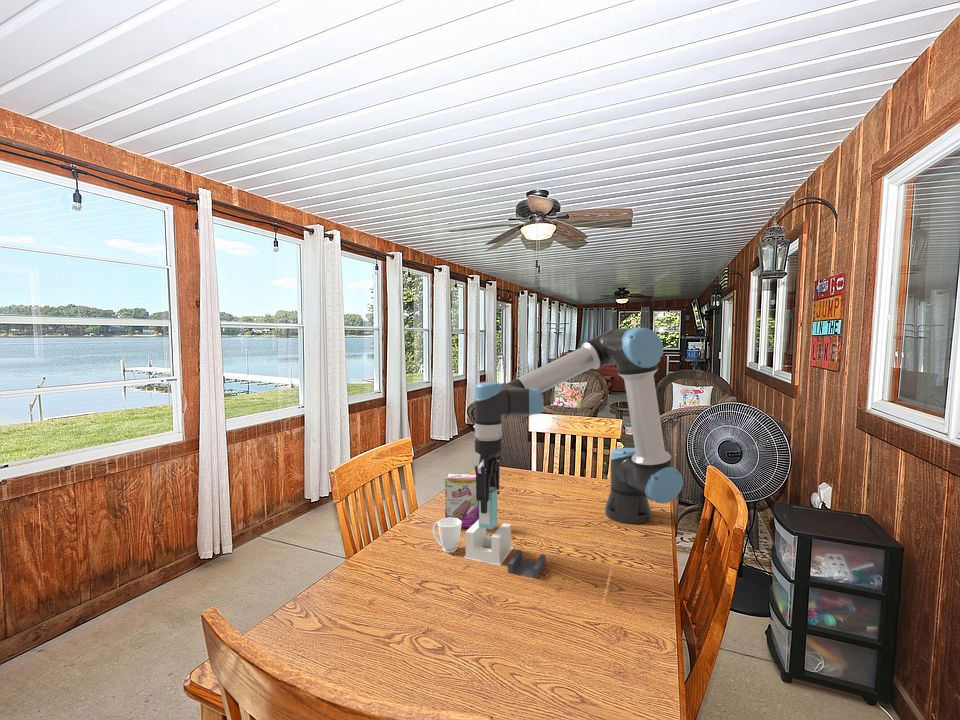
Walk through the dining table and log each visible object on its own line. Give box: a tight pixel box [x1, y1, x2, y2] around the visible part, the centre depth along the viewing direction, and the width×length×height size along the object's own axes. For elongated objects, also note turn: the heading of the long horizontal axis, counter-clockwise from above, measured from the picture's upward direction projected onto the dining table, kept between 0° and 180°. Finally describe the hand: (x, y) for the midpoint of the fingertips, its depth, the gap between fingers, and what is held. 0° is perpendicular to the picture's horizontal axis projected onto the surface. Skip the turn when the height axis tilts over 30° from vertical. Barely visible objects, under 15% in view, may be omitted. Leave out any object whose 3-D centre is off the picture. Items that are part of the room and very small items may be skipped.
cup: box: [431, 517, 462, 554], centre depth 128 cm, size 7×10×8 cm
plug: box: [479, 487, 498, 530], centre depth 123 cm, size 4×4×11 cm
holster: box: [507, 549, 547, 580], centre depth 115 cm, size 8×8×3 cm
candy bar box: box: [444, 473, 479, 529], centre depth 143 cm, size 11×5×16 cm, turn 84°
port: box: [462, 519, 514, 567], centre depth 124 cm, size 11×11×8 cm
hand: (488, 520), depth 123 cm, fingers closed on plug, 4 cm apart
